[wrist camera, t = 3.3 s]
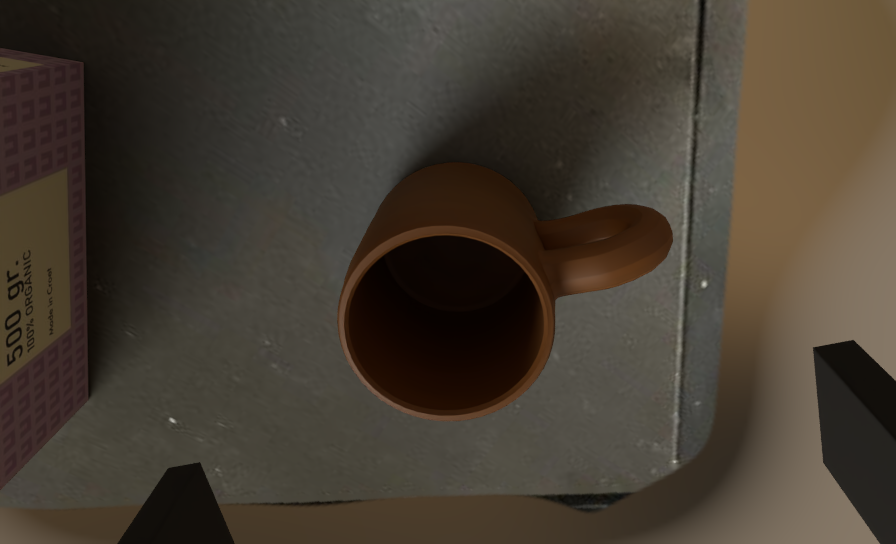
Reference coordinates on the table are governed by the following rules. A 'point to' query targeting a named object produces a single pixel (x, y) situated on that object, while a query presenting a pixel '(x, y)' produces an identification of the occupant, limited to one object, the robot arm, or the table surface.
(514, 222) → the mug
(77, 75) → the box
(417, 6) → the table surface
